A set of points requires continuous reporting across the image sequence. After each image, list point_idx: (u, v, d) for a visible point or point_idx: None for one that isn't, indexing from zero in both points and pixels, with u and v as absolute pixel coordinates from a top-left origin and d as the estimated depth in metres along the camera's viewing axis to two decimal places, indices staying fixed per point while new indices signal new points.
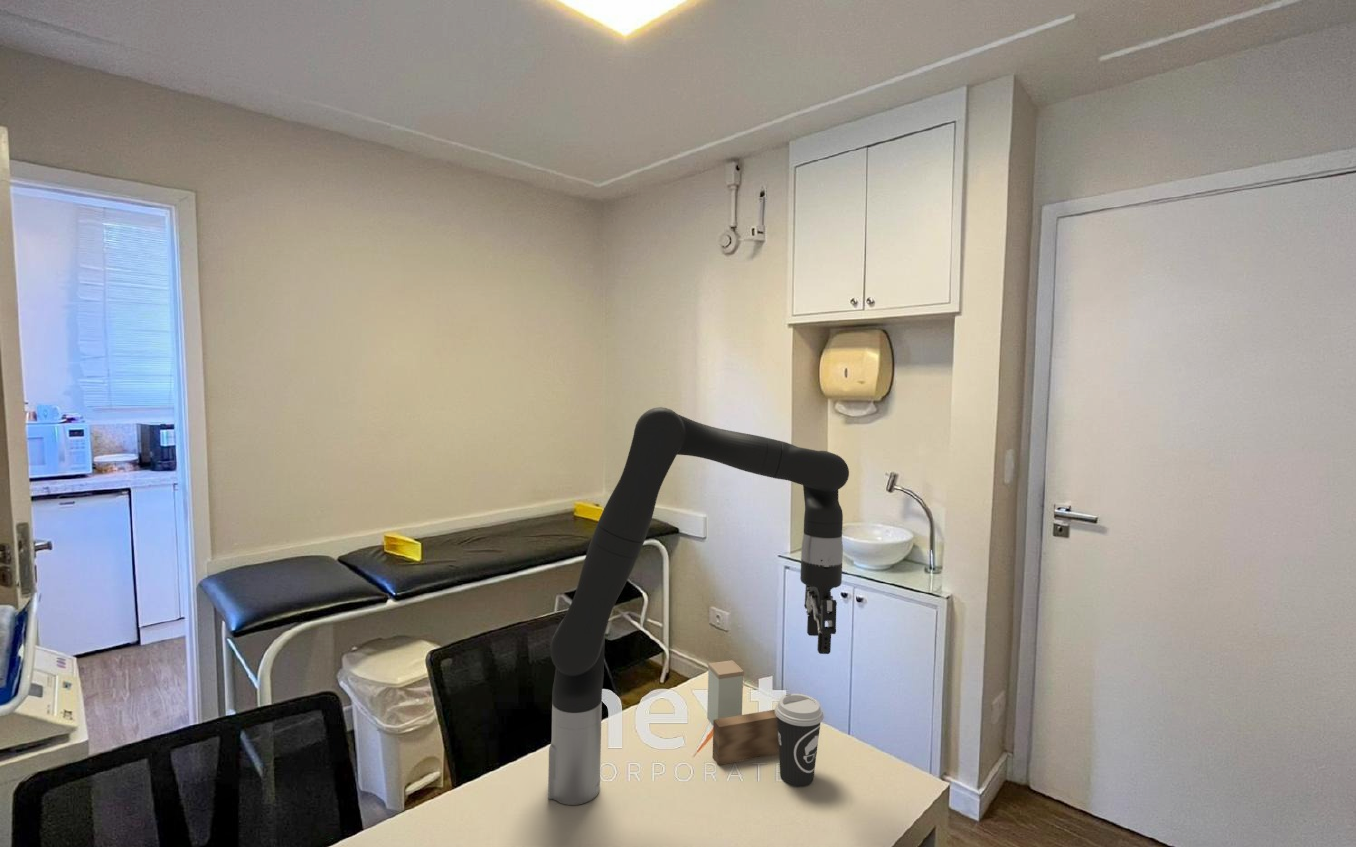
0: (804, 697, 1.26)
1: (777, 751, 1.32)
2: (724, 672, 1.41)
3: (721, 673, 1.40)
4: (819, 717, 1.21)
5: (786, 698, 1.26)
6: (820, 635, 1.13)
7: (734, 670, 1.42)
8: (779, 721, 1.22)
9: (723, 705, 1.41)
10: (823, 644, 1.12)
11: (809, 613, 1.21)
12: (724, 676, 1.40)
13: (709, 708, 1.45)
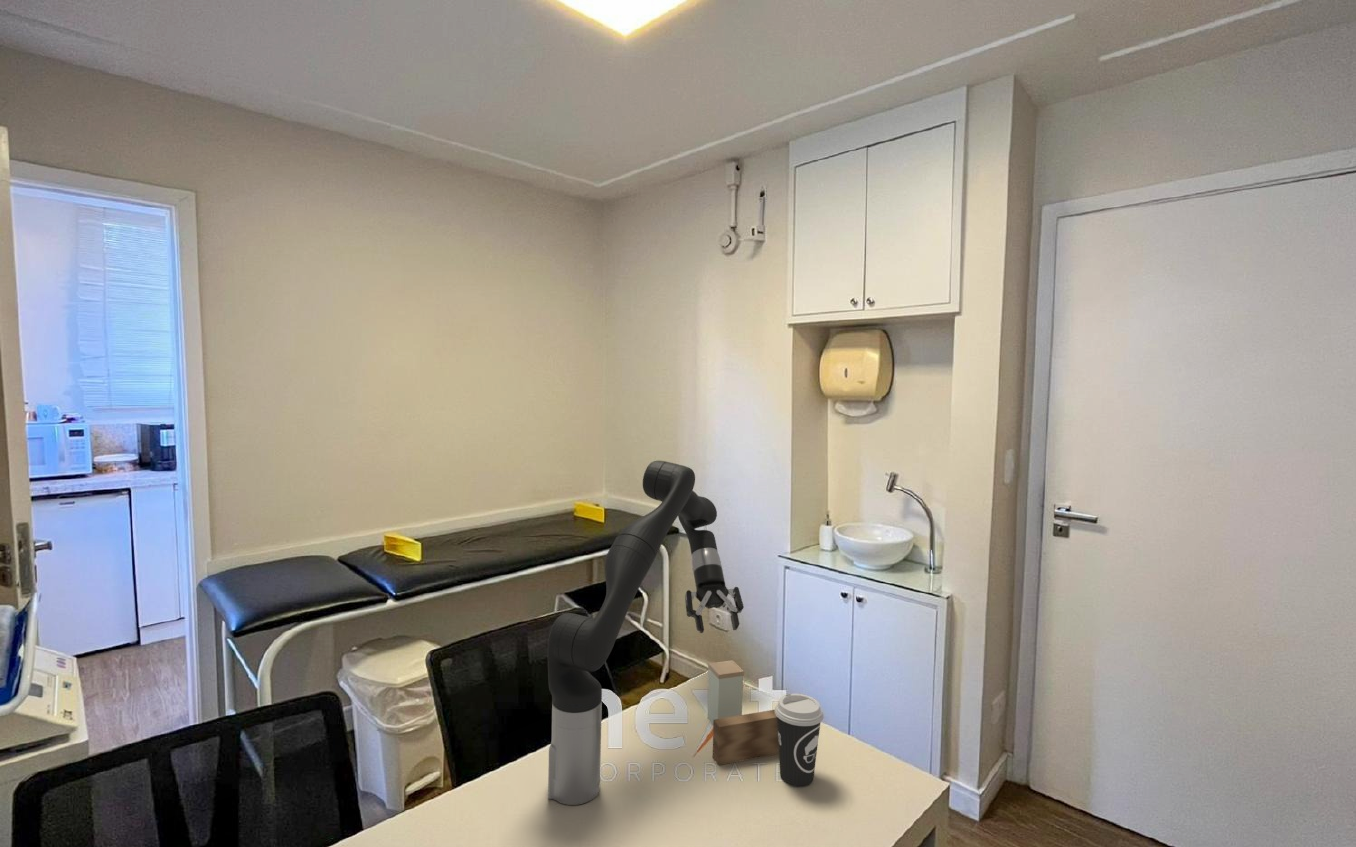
0: (804, 697, 1.26)
1: (777, 751, 1.32)
2: (724, 672, 1.41)
3: (721, 673, 1.40)
4: (819, 717, 1.21)
5: (786, 698, 1.26)
6: (735, 614, 1.55)
7: (734, 670, 1.42)
8: (779, 721, 1.22)
9: (723, 705, 1.41)
10: None
11: (700, 613, 1.54)
12: (724, 676, 1.40)
13: (709, 708, 1.45)
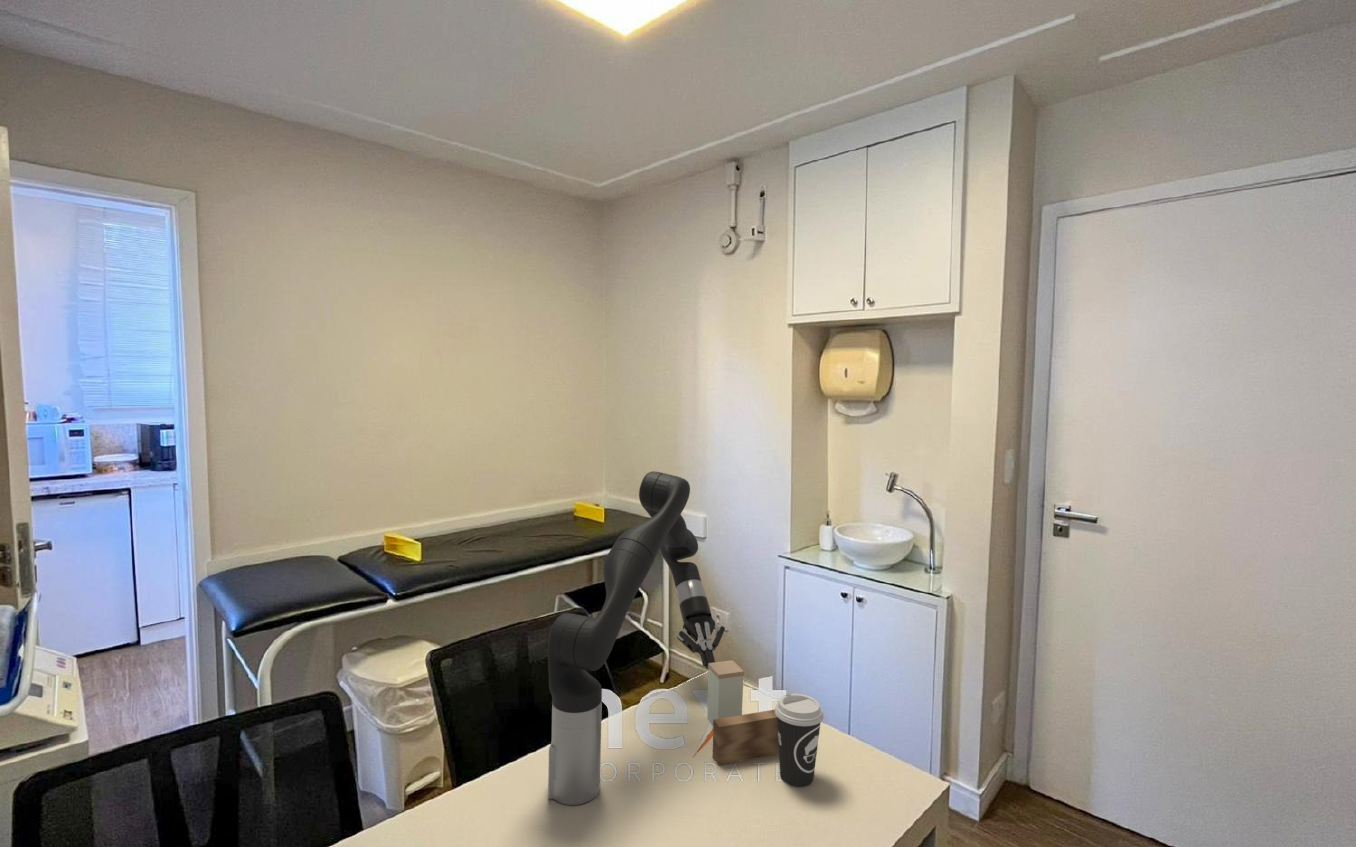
0: (804, 697, 1.26)
1: (777, 751, 1.32)
2: (724, 672, 1.41)
3: (721, 673, 1.40)
4: (819, 717, 1.21)
5: (786, 698, 1.26)
6: (710, 651, 1.54)
7: (734, 670, 1.42)
8: (779, 721, 1.22)
9: (723, 705, 1.41)
10: (713, 657, 1.54)
11: (706, 648, 1.54)
12: (724, 676, 1.40)
13: (709, 708, 1.45)
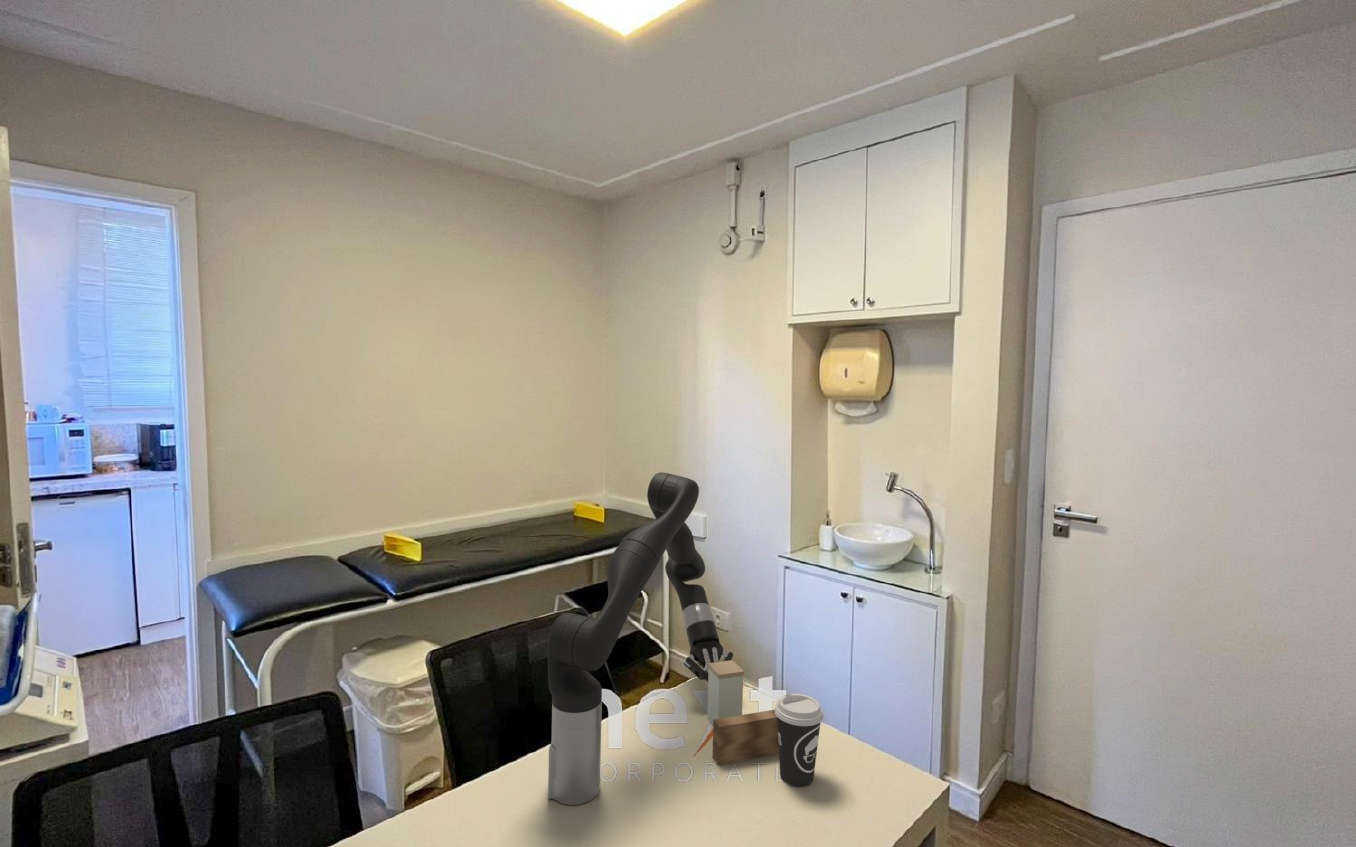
0: (804, 697, 1.26)
1: (777, 751, 1.32)
2: (724, 672, 1.41)
3: (721, 673, 1.40)
4: (819, 717, 1.21)
5: (786, 698, 1.26)
6: None
7: (734, 670, 1.42)
8: (779, 721, 1.22)
9: (723, 705, 1.41)
10: None
11: None
12: (724, 676, 1.40)
13: (709, 708, 1.45)
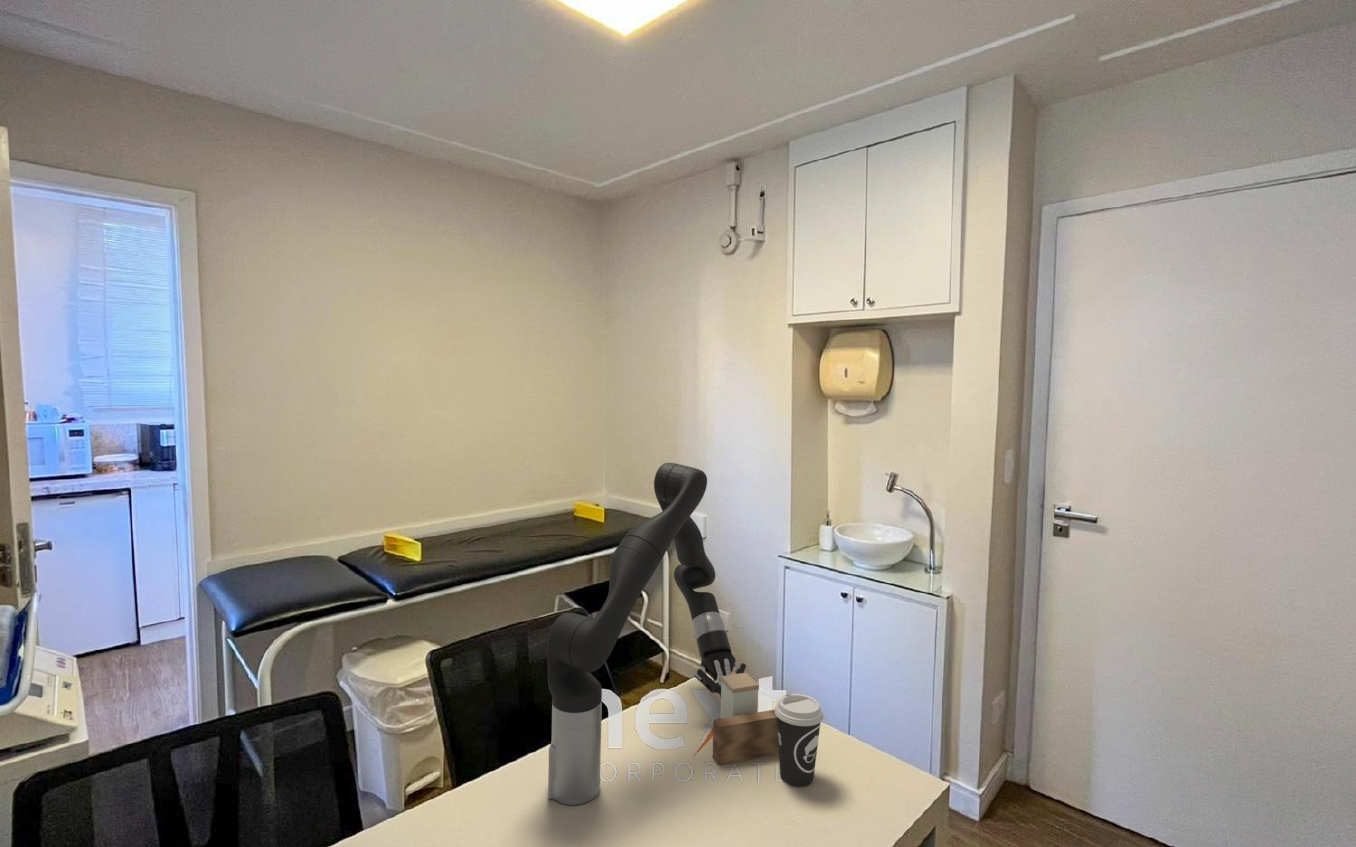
0: (804, 697, 1.26)
1: (777, 751, 1.32)
2: (738, 685, 1.35)
3: (735, 687, 1.34)
4: (819, 717, 1.21)
5: (786, 698, 1.26)
6: None
7: (749, 684, 1.36)
8: (779, 721, 1.22)
9: None
10: None
11: None
12: (738, 691, 1.34)
13: None
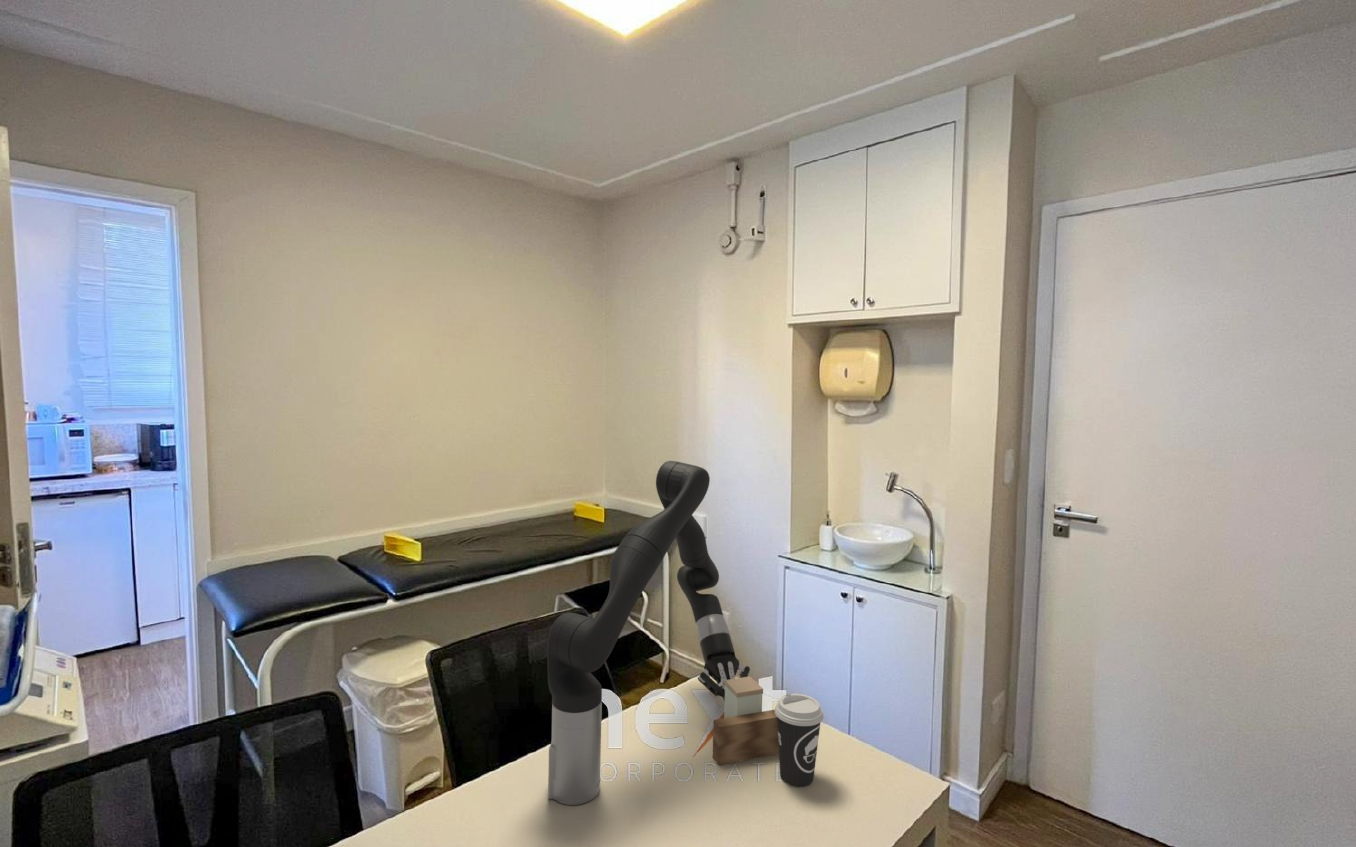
0: (804, 697, 1.26)
1: (777, 751, 1.32)
2: (742, 689, 1.33)
3: (739, 691, 1.32)
4: (819, 717, 1.21)
5: (786, 698, 1.26)
6: None
7: (753, 688, 1.34)
8: (779, 721, 1.22)
9: None
10: None
11: None
12: (742, 695, 1.32)
13: None
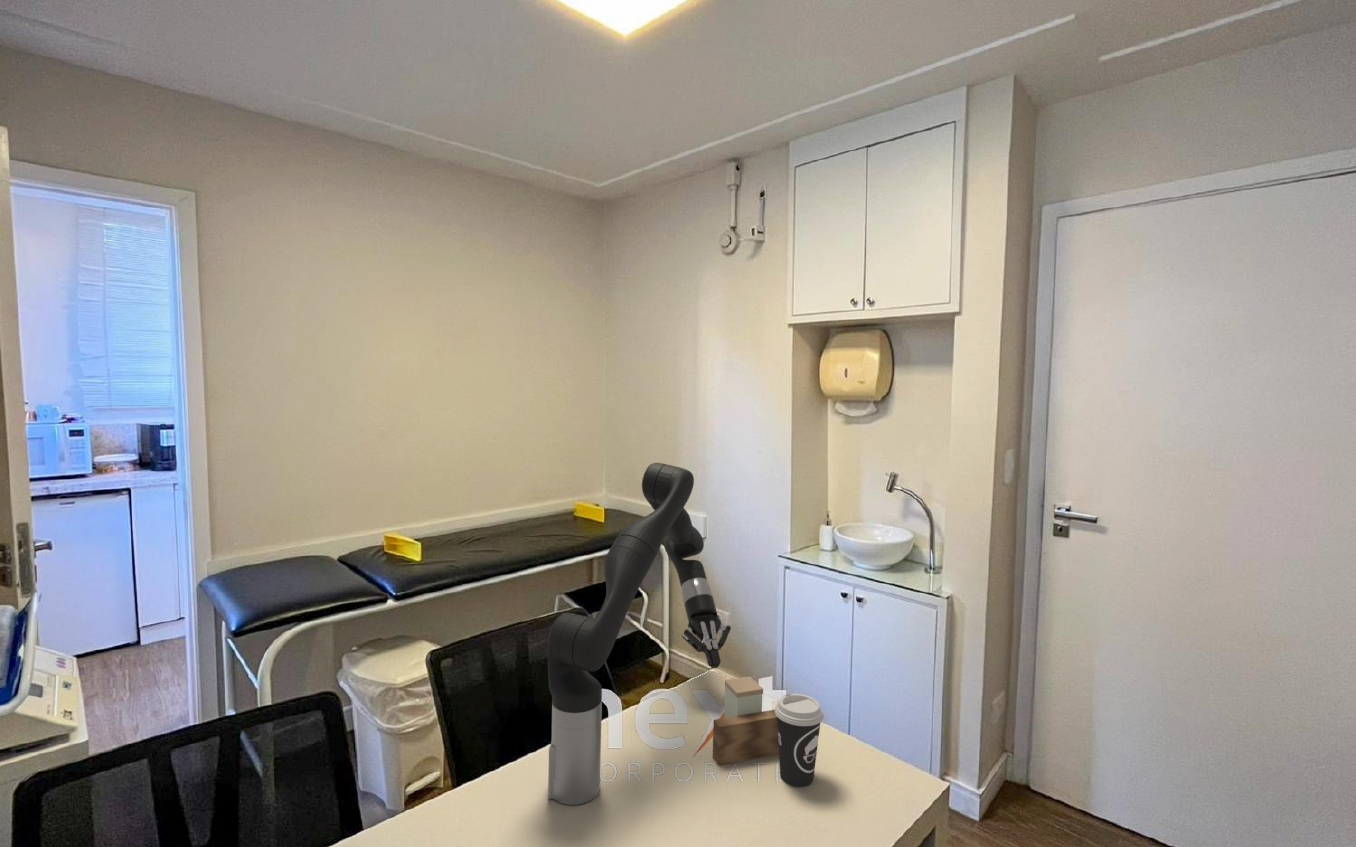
0: (804, 697, 1.26)
1: (777, 751, 1.32)
2: (742, 689, 1.33)
3: (739, 691, 1.32)
4: (819, 717, 1.21)
5: (785, 698, 1.26)
6: (716, 651, 1.51)
7: (753, 688, 1.34)
8: (779, 721, 1.22)
9: None
10: None
11: (711, 647, 1.51)
12: (742, 695, 1.32)
13: None
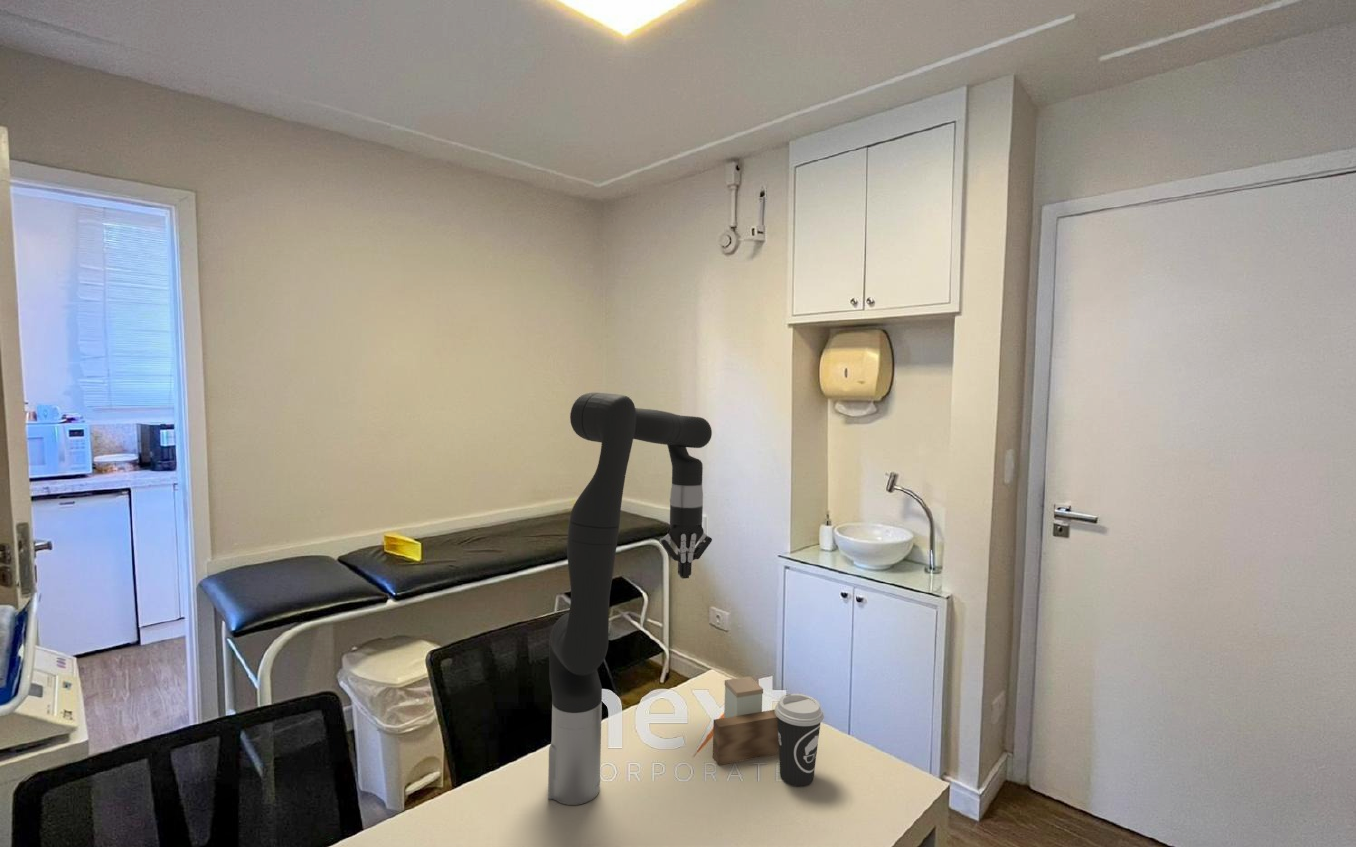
0: (804, 697, 1.26)
1: (777, 751, 1.32)
2: (742, 689, 1.33)
3: (739, 691, 1.32)
4: (819, 717, 1.21)
5: (786, 698, 1.26)
6: (689, 563, 1.44)
7: (753, 688, 1.34)
8: (779, 721, 1.22)
9: None
10: (690, 569, 1.45)
11: None
12: (742, 695, 1.32)
13: None
